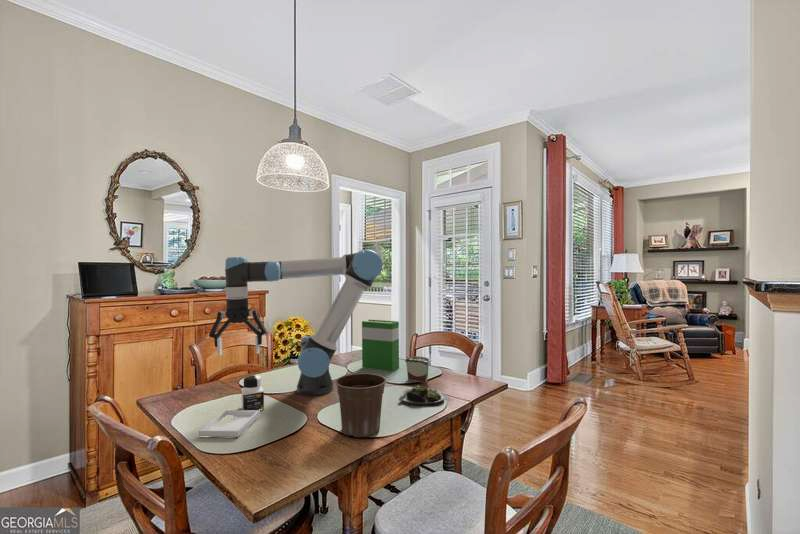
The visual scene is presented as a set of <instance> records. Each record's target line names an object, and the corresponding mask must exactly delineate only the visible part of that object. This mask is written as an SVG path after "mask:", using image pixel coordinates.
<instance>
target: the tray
mask: <svg viewBox="0 0 800 534" xmlns="http://www.w3.org/2000/svg"><path fill="white" fill-rule="evenodd" d="M226 415H233V416H234V418H233V420H232V419H231V420H232V421H230V422H229V421H228V422H227V423H226V427H225V424H224V425H223V427H222V426H220V427H216V429H215V427H213V426H214V425H215V424H216V423H218V422H219V421H220V420H221V419H222V418H223V417H225V416H226ZM235 416H236V417H237V418H235ZM259 416H260V417H261V411H260V410H242V409H240V410H239V409H237V410H235V409H233V410H232V409H224V410H223V411H222V412H221V413H219V414H218V415H217V416H216V417H215V418H213V419H212V420H210V421H209V422H208V423H206V424H205V425H204V426H203V427H202V428H200V429H199V430H198V431H197V432H198V436H209V437H210V436H211V437H239V436H240V435H241V434H242V433H243V432H244V431H245V430H246V429H247V428H248V427H249V426H250V425H251V424H252V423H253V422H254V421H255V420H256V419H257V418H258V417H259ZM260 417H259V418H260ZM259 418H258V419H259ZM235 419H236V420H235ZM258 419H257V420H258ZM257 420H256V421H257ZM256 421H255V422H256ZM255 422H254V423H255ZM224 423H225V422H224ZM254 423H253V424H254ZM253 424H252V425H253ZM252 425H251V426H252ZM218 426H219V424H218ZM251 426H250V427H251ZM221 427H222V428H221ZM250 427H249V428H250ZM213 428H214V429H213ZM218 428H219V429H218ZM249 428H248V429H249ZM248 429H247V430H248ZM247 430H246V431H247ZM246 431H245V432H246ZM245 432H244V433H245ZM244 433H243V434H244ZM243 434H242V435H243ZM242 435H241V436H242ZM198 436H197V437H198ZM241 436H240V437H241ZM240 437H239V438H240Z"/></svg>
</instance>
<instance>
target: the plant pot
mask: <svg viewBox="0 0 800 534" xmlns="http://www.w3.org/2000/svg"><path fill="white" fill-rule="evenodd" d="M386 383H387V378H386V377H385V376H383V375H380V374H376V373H375V374H374V373H368V372H367V373H366V372H365V373H364V372H363V373H361V372H360V373H359V372H358V373H352V374H351V373H350V374H346V375H341V376H340V377H338V378H337V379H335V385H336V388H337V395H338V398H339V409H340V419H341V420H340V421H341V431H342V433H343V434H344V435H346V436H347V437H351V436H353V437H354V438H367V437H368V438H369V437H370V436H371V437H372V436H373V435H376V434H377V432H379V431H380V428H381V415H382V403H383V394H384V393H385V392H384V391H385V384H386Z"/></svg>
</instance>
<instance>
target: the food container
mask: <svg viewBox="0 0 800 534" xmlns="http://www.w3.org/2000/svg"><path fill="white" fill-rule="evenodd" d="M430 361H431V360H430V359H429V358H428V357H425V356H409V357H405V360H404V362H405V364H406V373H407V380H408V381H412V380H414V382H417V381H418V383H422V384H423V383H424V384H427V382H428V376H429V366H430V365H431V362H430Z"/></svg>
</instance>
